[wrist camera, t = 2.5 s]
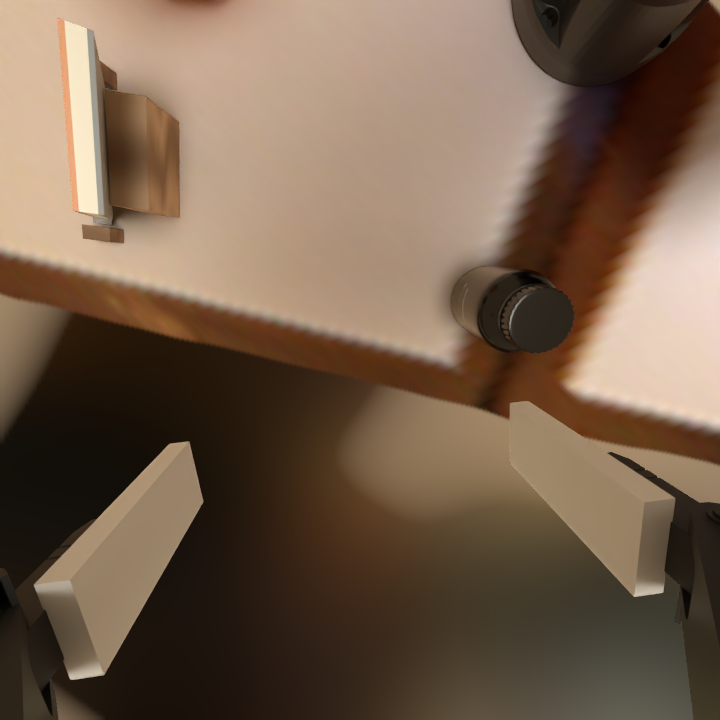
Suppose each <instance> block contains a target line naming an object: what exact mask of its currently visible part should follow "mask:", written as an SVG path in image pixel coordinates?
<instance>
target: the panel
mask: <svg viewBox="0 0 720 720" xmlns="http://www.w3.org/2000/svg"><path fill="white" fill-rule="evenodd" d="M57 19H58V31H59V44H60V56H61V69H62V81H63V94H64V106H65V119H66V131H67V144H68V156H69V168H70V181H71V193H72V206H73V211H76V212H79V213H82V214H85V215H89V216H92V217H93V219H94V223H100V224H108V225H112V219H113V210H112V205H111V204H110V185H109V167H108V148H107V129H106V111H105V92H104V90H105V85H104V80H103V75H102V71H101V66H100V61H99V56H98V51H97V46H96V42H95V37H94V32H93V31H92V30H89V29H87V28H84V27H81V26H78V25H76V24H73V23H70V22H67V21H65V20H62V19H59V18H57Z"/></svg>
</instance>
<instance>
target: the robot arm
mask: <svg viewBox="0 0 720 720" xmlns="http://www.w3.org/2000/svg"><path fill="white" fill-rule="evenodd" d="M708 1H709V0H512V7H513V14H514V18H515V23H516V26H517V30H518V32H519V35H520V38H521V40H522V42H523V44H524V46H525V48H526V49H527V51H528V53H529V54H530V56H531V57H532V58H533V60H534V61H535V62H536V63H537V64H538V65H539V66H540V67H541V68H542V69H543V70H544V71H546V72H547V73H548V74H550V75H551V76H553V77H555V78H556V79H558V80H561V81H563V82H566V83H569V84H573V85H578V86H598V85H604V84H608V83H611V82H615V81H617V80H620V79H622V78H624V77H626V76H628V75H630V74H631V73H633V72H635V71H636V70H638V69H639V68H641V67H642V66H644V65H645V64H647V63H648V62H650V61H651V60H653V59H654V58H655V57H657V56H658V55H659V54H661V53H662V52H663V51H664V50H666V49H667V48H668V47H669V46H670V45H671V44H672V43H673V42H674V41H675V40H676V39H677V38H678V37H679V36H680V35H681V34H682V33H683V32H684V30H685V29H686V28H687V27H688V25H689V24H690V23H691V22H692V20H693V19H694V18H695V17H696V16H697V14H698V13H699V12H700V11H701V10H702V8H703V7H704V6H705V5H706V3H707V2H708ZM510 463H511V465H512V466H513V467H514V468H515V469H516V470H517V471H518V472H519V473H520V474H521V475H522V476H523V478H524V479H525V480H526V481H527V482H528V483H529V484H530V485H531V486H532V487H533V488H534V489H535V490H536V492H537V493H538V494H539V495H540V496H541V497H542V498H543V499H544V500H545V501H546V502H547V503H548V504H549V506H550V507H551V508H552V509H553V510H554V511H555V512H556V513H557V514H558V515H559V516H560V517H561V518H562V520H564V522H565V523H566V524H567V525H568V526H569V527H570V528H571V529H572V530H573V531H574V532H575V534H576V535H577V536H578V537H579V538H580V539H581V540H582V541H583V542H584V543H585V544H586V545H587V547H588V548H589V549H590V550H591V551H592V552H593V553H594V554H595V555H596V556H597V557H598V558H599V559H600V561H601V562H602V563H603V564H604V565H605V566H606V567H607V568H608V569H609V570H610V571H611V572H612V573H613V575H614V576H615V577H616V578H617V579H618V580H619V581H620V582H621V583H622V584H623V585H624V586H625V587H626V589H627V590H628V591H629V592H630V593H631V594H632V595H633V596H634V597H637V596H644V595H651V594H657V593H663V589H664V582H665V574H666V573H667V574H668V575H670V576H671V577H672V578H673V579H674V580H675V581H676V582H677V583H678V584H680V589H679V596H678V602H677V609H676V616H675V622H677V623H679V624H681V623H682V631H683V639H684V647H685V655H686V663H687V670H688V678H689V687H690V694H691V702H692V710H693V718H694V720H720V504H718V503H711V502H707V503H706V502H705V503H699V502H697V501H696V500H694V499H693V498H690V497H689V496H688V495H686V494H685V493H683V492H681V491H680V490H678V489H676V488H675V487H673V486H672V485H670V484H669V483H667V482H666V481H664V480H662V479H661V478H657V476H656V475H654V474H653V473H651V472H650V471H648V470H645V468H643V467H641V466H640V465H638V464H637V463H635V462H634V461H632V460H630V459H628V458H625V457H623V456H620V455H618V454H615V453H613V452H609V453H606V452H605V451H603V450H602V449H600V448H599V447H597V446H595V445H594V444H593V443H591V442H589V441H588V440H586V439H585V438H583V437H582V436H580V435H579V434H577V433H576V432H574V431H573V430H571V429H570V428H568V427H567V426H565V425H564V424H562V423H561V422H559V421H558V420H556V419H555V418H553V417H552V416H550V415H548V414H547V413H545V412H544V411H542V410H541V409H539V408H538V407H536V406H535V405H533V404H532V403H530V402H529V401H523V402H515V403H510ZM202 503H203V499H202V495H201V491H200V486H199V482H198V478H197V473H196V470H195V465H194V461H193V456H192V452H191V448H190V443H189V442H181V443H173V444H169V445H168V446H167V447H166V448H165V449H164V450H163V451H162V452H161V453H160V454H159V455H158V457H156V458H155V460H154V461H153V462H152V463H151V464H150V465H149V466H148V467H147V468H146V469H145V470H144V471H143V472H142V473H141V474H140V475H139V476H138V477H137V478H136V479H135V480H134V481H133V482H132V483H131V484H130V485H129V487H128V488H127V489H126V490H125V491H124V492H123V493H122V494H121V495H120V496H119V497H118V498H117V499H116V500H115V501H114V502H113V503H112V504H111V505H110V506H109V507H108V508H107V509H106V510H105V511H104V512H103V514H102V515H101V516H100V517H99V518H98V519H95V520H91V521H90V522H88V523H87V524H85V525H84V526H83V527H81V528H79V529H78V530H76V531H75V532H74V533H73V534H72V535H71V536H70V537H69V538H68V539H67V540H66V541H65V542H64V543H63V544H62V545H61V546H60V548H59V549H57V550H56V551H55V552H54V553H53V554H52V555H51V556H50V557H49V559H48V560H46V561H44V563H42V565H40V567H39V568H37V569H36V570H35V571H34V573H32V574H31V575H30V576H29V578H27V580H25V581H24V582H23V583H22V584H21V585H20V586H19V587H18V588H17V589H16V590H15V591H14V588H13V586H12V583H11V581H10V578H9V576H8V574H7V572H6V570H5V569H1V568H0V720H58V711H57V703H56V694H55V689H54V686H53V684H52V681H51V677H52V676H53V675H54V673H55V672H56V670H57V669H58V667H59V666H60V665H61V663H62V662H63V661H64V664H65V667H66V669H67V672H68V674H69V677H70V679H71V680H73V679H80V678H87V677H94V676H100V675H104V674H105V672H106V670H107V669H108V667H109V665H110V663H111V662H112V660H113V658H114V656H115V654H116V653H117V651H118V650H119V648H120V646H121V644H122V643H123V641H124V639H125V637H126V636H127V634H128V632H129V630H130V629H131V627H132V625H133V623H134V621H135V620H136V618H137V616H138V614H139V613H140V611H141V609H142V607H143V606H144V604H145V602H146V601H147V599H148V597H149V595H150V594H151V592H152V590H153V588H154V586H155V585H156V583H157V581H158V580H159V578H160V576H161V574H162V573H163V571H164V569H165V567H166V566H167V564H168V562H169V560H170V559H171V557H172V555H173V553H174V552H175V550H176V548H177V547H178V545H179V543H180V541H181V540H182V538H183V536H184V534H185V533H186V531H187V529H188V527H189V525H190V524H191V522H192V520H193V519H194V517H195V515H196V513H197V512H198V510H199V508H200V506H201V505H202Z"/></svg>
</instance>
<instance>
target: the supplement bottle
mask: <svg viewBox="0 0 720 720" xmlns="http://www.w3.org/2000/svg"><path fill="white" fill-rule="evenodd" d="M451 304H452V311H453V314H454V317H455V318H456V320H457V321H458V323H459V324H460V325H461V326H462V327H463V328H465V329H466V330H467V331H469V332H470V333H472V334H473V335H475V336H476V337H478V338H479V339H480V340H482V341H483V342H485V343H486V344H488V345H489V346H491V347H492V348H494V349H496V350H499V351H501V352H505V353H522V352H530V353H535V352H536V353H541V352H546V351H548V350H552V349H553V348H555V347H557V346H558V345H559V344H561V343H563V341H564V339H566V338H567V337H568V334H569V333H570V332H571V328H572V327H573V321H574V319H575V318H574V314H575V312H574V310H573V308H574V306H573V305H572V304H571V300H569V299H568V296H567V295H565V294H564V293H563V292H562V291H558V290H557V288H556V286H555V285H554V284H553V282H552V281H551V280H550V279H549V278H547V277H546V276H545V275H543V274H541V273H539V272H536V271H533V270H528V269H518V268H508V267H498V266H483V267H479V268H476V269H473V270H471V271H470V272H468V273H467V274H465V275H464V276H463V277H462V278H461V279H460V280H459V282H458V283H457V285H456V287H455V289H454V291H453V295H452V301H451Z"/></svg>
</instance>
